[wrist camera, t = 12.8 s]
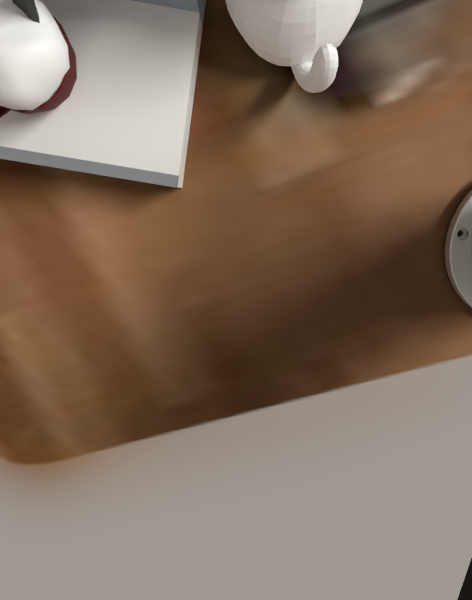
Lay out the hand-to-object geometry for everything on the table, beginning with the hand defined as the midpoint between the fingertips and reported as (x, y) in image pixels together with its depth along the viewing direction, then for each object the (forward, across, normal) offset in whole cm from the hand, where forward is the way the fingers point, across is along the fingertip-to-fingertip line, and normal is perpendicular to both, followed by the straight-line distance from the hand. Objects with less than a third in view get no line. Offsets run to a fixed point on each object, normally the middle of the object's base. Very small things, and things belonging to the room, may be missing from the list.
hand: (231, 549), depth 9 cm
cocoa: (+26, +14, -12) cm, 32 cm away
